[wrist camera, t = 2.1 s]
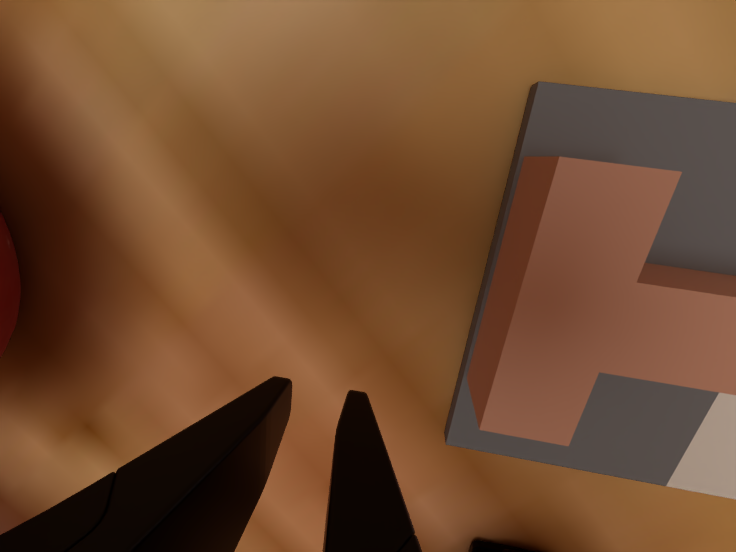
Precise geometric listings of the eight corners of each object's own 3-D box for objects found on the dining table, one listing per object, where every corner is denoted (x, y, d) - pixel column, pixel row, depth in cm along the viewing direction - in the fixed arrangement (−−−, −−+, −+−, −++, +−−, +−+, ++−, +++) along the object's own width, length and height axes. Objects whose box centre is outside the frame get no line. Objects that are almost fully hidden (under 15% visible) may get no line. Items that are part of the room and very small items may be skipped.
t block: (688, 416, 19) (757, 481, 15) (466, 377, 20) (479, 429, 16) (810, 192, 15) (947, 205, 11) (524, 156, 16) (559, 156, 12)
